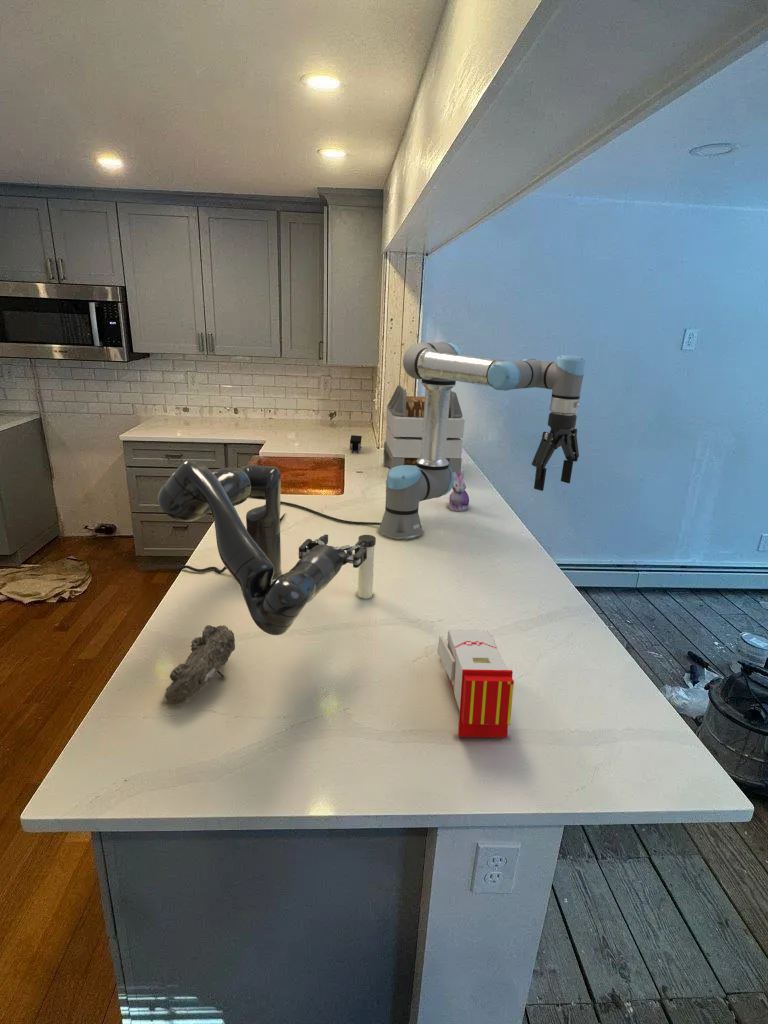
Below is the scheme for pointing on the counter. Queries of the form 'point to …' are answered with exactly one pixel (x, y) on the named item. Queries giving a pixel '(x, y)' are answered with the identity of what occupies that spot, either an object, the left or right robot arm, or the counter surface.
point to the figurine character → (355, 443)
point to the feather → (281, 518)
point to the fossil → (201, 663)
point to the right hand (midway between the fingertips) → (552, 485)
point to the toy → (478, 682)
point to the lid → (368, 540)
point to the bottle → (366, 575)
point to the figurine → (458, 494)
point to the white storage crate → (418, 431)
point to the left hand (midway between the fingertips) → (344, 540)
